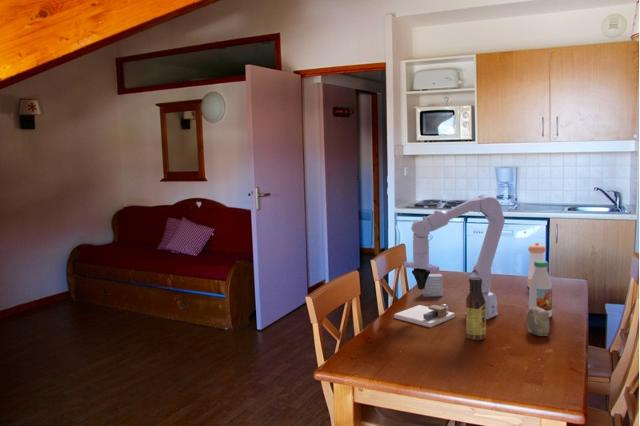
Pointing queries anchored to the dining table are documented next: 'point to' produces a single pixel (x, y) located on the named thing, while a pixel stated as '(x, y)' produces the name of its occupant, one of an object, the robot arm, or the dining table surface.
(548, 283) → the milk bottle
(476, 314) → the sauce bottle
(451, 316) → the board
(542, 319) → the grey rock
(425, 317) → the steel link
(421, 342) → the dining table surface
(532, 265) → the orange-capped bottle
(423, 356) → the dining table surface
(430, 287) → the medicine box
